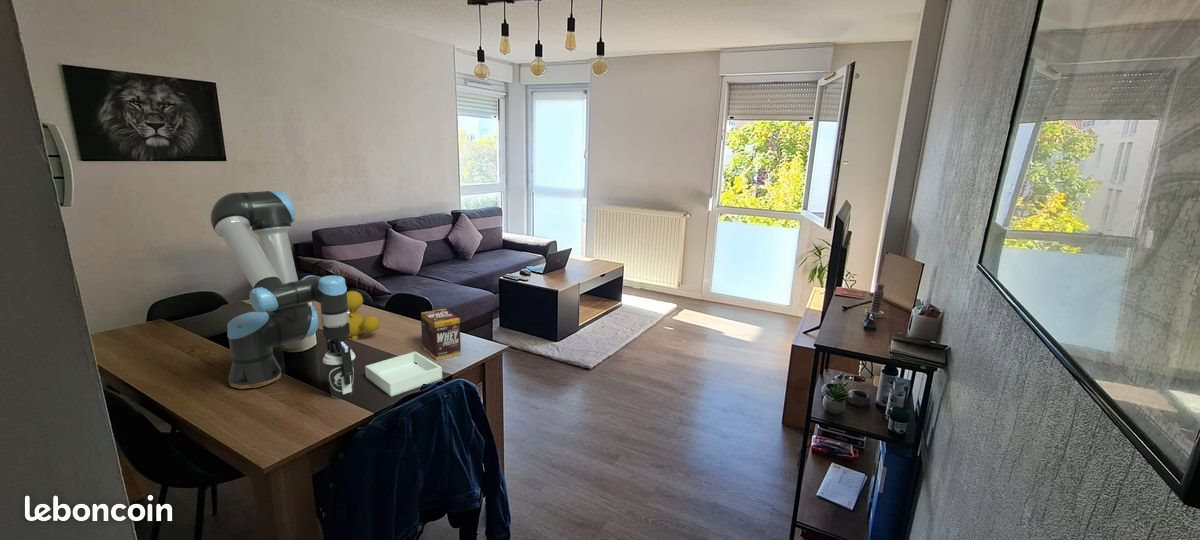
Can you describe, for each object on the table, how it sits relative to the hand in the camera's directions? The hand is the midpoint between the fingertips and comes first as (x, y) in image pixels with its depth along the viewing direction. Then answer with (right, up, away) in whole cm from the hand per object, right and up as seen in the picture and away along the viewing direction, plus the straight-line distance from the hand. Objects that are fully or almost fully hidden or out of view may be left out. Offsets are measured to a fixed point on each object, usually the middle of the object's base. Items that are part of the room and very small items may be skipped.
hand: (342, 388), depth 162 cm
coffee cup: (0, -2, +1) cm, 2 cm away
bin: (+15, 0, +13) cm, 20 cm away
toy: (-21, +11, +48) cm, 53 cm away
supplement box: (+21, +6, +37) cm, 43 cm away
